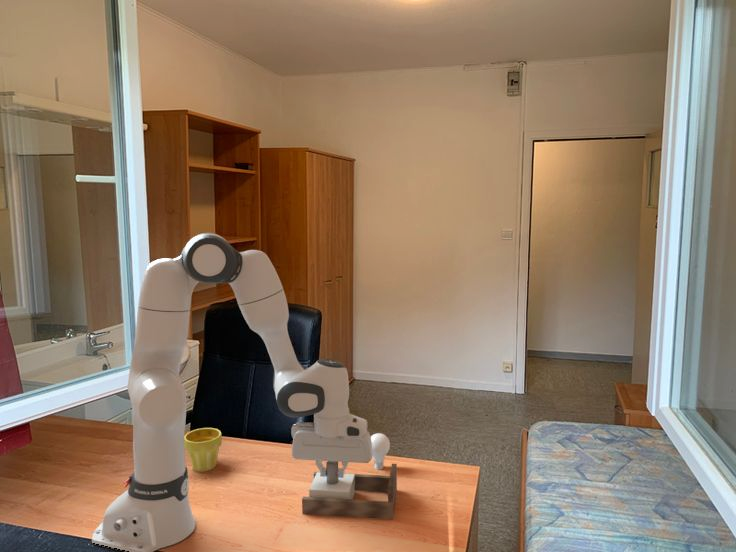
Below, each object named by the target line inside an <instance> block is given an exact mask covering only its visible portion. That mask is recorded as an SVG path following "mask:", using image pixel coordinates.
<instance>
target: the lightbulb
mask: <svg viewBox="0 0 736 552" xmlns="http://www.w3.org/2000/svg"><path fill="white" fill-rule="evenodd" d="M370 436H371V442H372V461H373V467H374V470H377V471H380V470H383V469H384V461H385V457H386V455H388V452H389V451H390V449H391V448H390V447H391V442H390V439H389V438H388V436H386V434H384V433H380V432H378V433H374V434H372V435H370Z"/></svg>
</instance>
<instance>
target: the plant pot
mask: <svg viewBox="0 0 736 552" xmlns="http://www.w3.org/2000/svg"><path fill="white" fill-rule="evenodd" d="M222 438H223V437H222V432H221V430H219V429H218V428H213V427H202V428H197V429H193V430H191V431H189V432H187V433H186V434H184V443H185V451H187V453H188V456H189V459H190V463H191V466H192V469H193V471H196V472H207V471H210V470H213V469H214V468H215V467H216V466H217V461H218V456H219V451H220V447H221V446H222V442H223V441H222Z"/></svg>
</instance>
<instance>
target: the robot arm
mask: <svg viewBox="0 0 736 552" xmlns="http://www.w3.org/2000/svg"><path fill="white" fill-rule="evenodd" d="M198 283H201V284H206V285H207V284H208V285H214V284H228V285H229V286H230V287H231V288H232V291H233V294H234V296H235V299H236V302H237V305H238V307H239V310H240V311H241V314H242V316H243V318H244V320H245V322H246V324H247V325H248V327H249V329H250V330H251V331H252V332H254V333H256V334H257V335H259V337H260V338H261V339H262V341H263V343H264V344H265V347H266V349H267V353H268V355H269V358H270V361H271V364H272V366H273V376H272V377H273V378H272V388H273V391H274V393H275V394H274V395H275V399H276V405H277V408H278V409H279V411H280V412H281V413H282V414H283V415H284V416H286V417H288V418H291V419H292V418H294V419H296V418H297V419H298V418H304V417H308V416H312V415H313V422H302V421H300V422H299V421H297V422H296V423H294V424H292V426H291V431H290V432H291V437H292V439H293V440H292V445H291V456H292V457H293V459H295V460H300V461H302V460H304V461H315V465H316V467H317V469H318V470H319V472H320V477H326V476H327V474H326V466H324V464H323V462H327V461H335V462H338V463H339V462H341V466H342V467H341V468H339V467H338V471H337V474H338V478H344V473H345V470H346V469H347V467H348V465H349V463H356V464H357V463H359V464H369V463H370V462H371V461H372V460H373V456H372V442H371V436H372V435H371V434H370V433H371V432H369V430H368V421H367V419H365V418H362V417H360V416H357V415H354V414H352V413H350V408H349V403H348V402H349V399H350V398H349V397H350V382H349V374H348V369H347V367H346V366H345V365H344V364H343V363H342V362H341V361H338V360H336V359H332V358H331V359H330V358H322V359H321V358H320V359H318V360H316V362H315V363H313V364H312V365H311V366H309V367H308V368H306V367H305V366H304V365H303V364H302V363H301V362H300V361H299V360H298V357H297V355H296V353H295V350H294V347H293V345H292V341H291V339H290V335H289V331H288V323H289V317H290V313H289V312H290V311H289V305H288V301H287V297H286V293H285V290H284V287H283V284H282V282H281V280H280V277H279V275H278V273H277V271H276V268H275V266H274V265H273V263H272V261H271V259H270V258H269V256H268V255H267V253H265V252H264V251H261V250H259V249H258V250H257V249H250V250H245V251H238V250H237V249H235V247H234V246H232V245H231V244H230V243H229V242H228V240H227V239H225V238H224V237H223V236H221V235H219V234H217V233H215V232H202V233H198V234H196V235H194V236H193V237H191V238H190V239H189V240H188V241H187V242H186V243H185V246H184V247H183V248H182V250H181V251H180V253H179V254H178V255H177V257H175V258H172V257H171V258H170V257H168V258H166V257H165V258H158V259H156V260H155V259H154V260H153V261H151V262H150V263H149V264H148V265H147V267H146V269H145V271H144V275H143V279H142V282H141V286H140V292H139V297H138V304H137V305H138V307H137V315H136V325H135V333H134V334H135V335H134V343H133V349H132V353H131V360H130V366H129V373H128V379H127V380H128V381H127V392H128V395H129V398H130V403H131V404H130V405H131V408H132V438H133V439H132V454H133V455H132V456H133V468H134V469H133V471H134V473H132V474H130V475H129V477H128V479H127V480H126V481H124V483H123V484H124V486H123V488H124V489H125V488H126V487H128V489H127V490H125V491H123V493H121V494H120V495H119V496H118V497H117V498H115V499H114V500H113V501H112V502H111V503H110V504H109V505H108V507H107V509H106V510H105V512H104V515H103V518H102V522H101V523H100V524H99V525H98V526H97V527H96V528H95V530H94V532H93V534H92V536H91V543H92V544H93V543H95V544H94V545H96V544H99V545H98V546H101V545H104V546H103V547H105V546H108V547H107V548H109V547H111V548H110V549H114V548H117V549H116V550H118V549H120V550H119V551H122V550H125V551H124V552H127V551H129V552H155V551H157V550H160V549H163V548H166V547H170V546H172V545H176V544H177V543H180V542H181V541H184V540H185V539H186V538H188V537H189V536H191V534H192V533H193V532H194V530H195V528H196V526H197V525H196V520H195V518H194V514H193V512H192V509H191V503H190V499H189V487H190V485H189V483H190V482H189V470H188V467H187V465H186V449H185V443H184V437H185V432H186V431H185V430H186V420H187V419H186V418H187V393H186V389H185V387H184V384H183V383H182V382H181V379H180V370H181V366H182V365H181V364H182V360H183V357H184V356H183V355H184V352H185V349H186V346H187V343H188V335H189V325H190V315H191V306H192V297H193V291H194V289H195V287H196V286H197V284H198Z"/></svg>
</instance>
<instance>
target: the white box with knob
mask: <svg viewBox="0 0 736 552" xmlns="http://www.w3.org/2000/svg"><path fill="white" fill-rule="evenodd" d="M325 462H326V466H325V468H326V474H327V476H326V477H320V471H316V472H317V473H316V475H315V478H314V477H313V480H312V482H311V485H310V487H309V489H308V497H319V498H336V499H353V500H354V496H355V492H356V490H355V474H356V473H346V474H344V478H338V474H337V471H338V469H339V462H335V461H325Z"/></svg>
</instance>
